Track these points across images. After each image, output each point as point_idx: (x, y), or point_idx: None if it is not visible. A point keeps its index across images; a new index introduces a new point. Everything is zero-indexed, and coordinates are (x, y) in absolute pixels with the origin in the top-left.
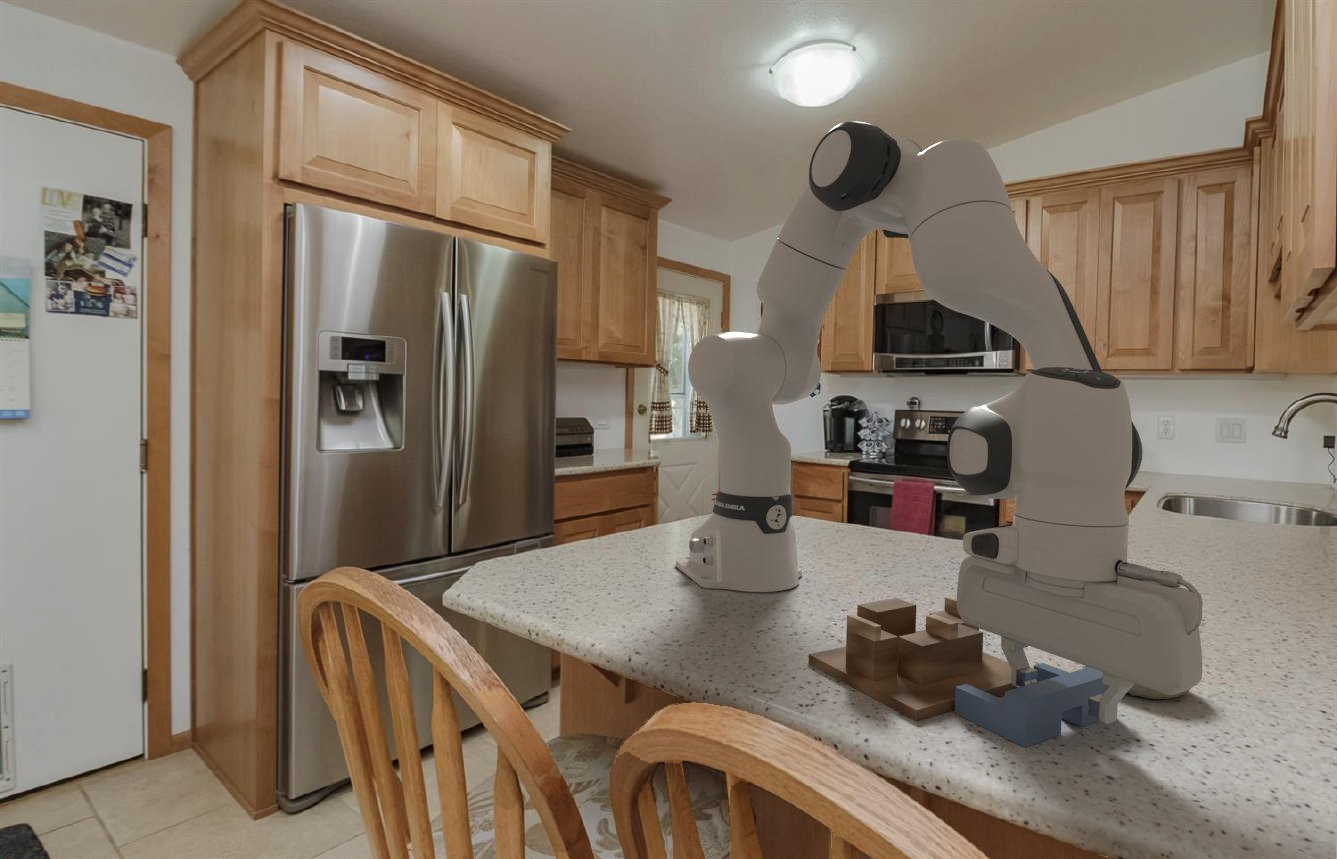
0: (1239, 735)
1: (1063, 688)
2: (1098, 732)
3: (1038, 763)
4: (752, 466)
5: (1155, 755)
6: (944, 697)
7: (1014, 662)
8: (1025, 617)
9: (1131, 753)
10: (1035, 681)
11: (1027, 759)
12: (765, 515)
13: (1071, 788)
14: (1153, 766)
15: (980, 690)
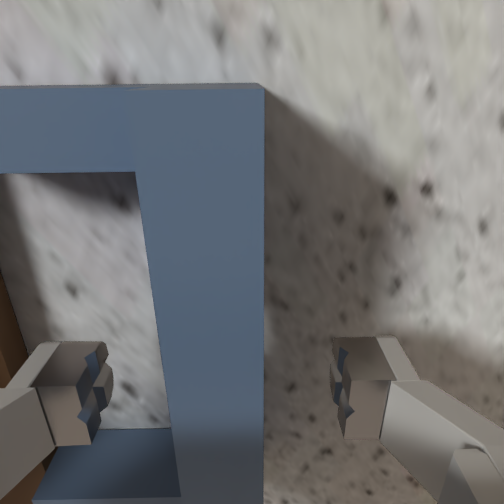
0: None
1: (258, 457)
2: (300, 254)
3: (311, 474)
4: None
5: (455, 244)
6: (30, 484)
7: (25, 472)
8: None
9: (409, 288)
10: (94, 359)
11: (291, 478)
12: None
13: (391, 490)
14: (469, 303)
15: (85, 501)
